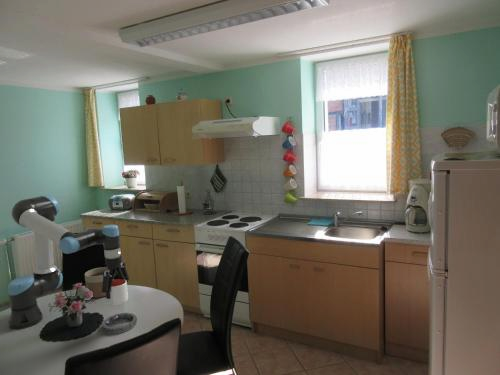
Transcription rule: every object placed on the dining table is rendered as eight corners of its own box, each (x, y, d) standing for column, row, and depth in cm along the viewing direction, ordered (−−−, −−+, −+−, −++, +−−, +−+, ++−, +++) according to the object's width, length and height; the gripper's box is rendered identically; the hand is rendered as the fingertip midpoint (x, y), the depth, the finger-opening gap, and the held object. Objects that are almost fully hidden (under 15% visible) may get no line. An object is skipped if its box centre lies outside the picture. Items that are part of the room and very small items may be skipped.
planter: (81, 298, 221) (79, 276, 219) (96, 287, 237) (94, 266, 235) (105, 299, 219) (103, 276, 217) (119, 288, 234) (117, 267, 232)
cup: (121, 307, 179) (119, 287, 177) (103, 306, 181) (100, 286, 179) (132, 298, 188) (130, 279, 187) (114, 297, 191) (112, 278, 189)
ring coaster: (95, 331, 181) (95, 326, 181) (117, 316, 196) (116, 311, 196) (123, 335, 176) (122, 330, 176) (142, 319, 191) (142, 314, 191)
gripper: (103, 264, 170) (108, 310, 173) (133, 250, 191) (137, 291, 194) (90, 263, 172) (95, 309, 175) (121, 249, 193) (125, 289, 196)
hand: (117, 299), depth 184 cm, fingers closed on cup, 10 cm apart
